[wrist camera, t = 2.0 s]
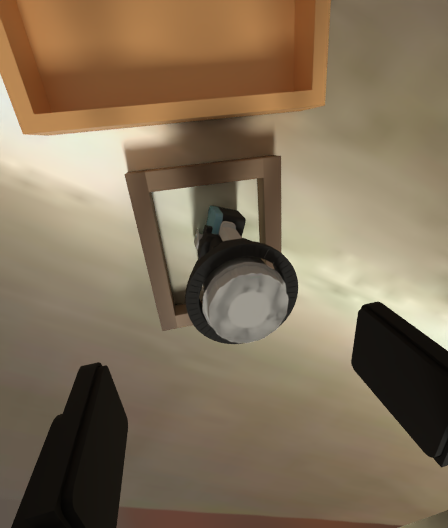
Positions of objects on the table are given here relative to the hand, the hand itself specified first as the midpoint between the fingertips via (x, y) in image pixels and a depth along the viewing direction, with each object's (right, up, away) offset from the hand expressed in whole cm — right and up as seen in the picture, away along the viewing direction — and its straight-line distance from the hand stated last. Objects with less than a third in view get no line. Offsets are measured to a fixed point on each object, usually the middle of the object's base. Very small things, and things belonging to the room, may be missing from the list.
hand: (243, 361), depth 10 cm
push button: (-2, +5, +11) cm, 12 cm away
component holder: (-2, +5, +11) cm, 12 cm away
